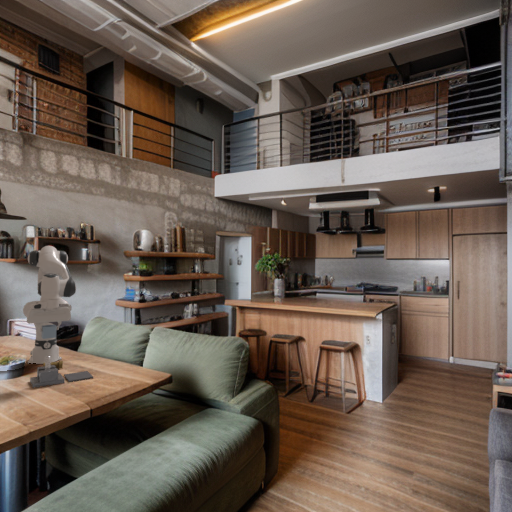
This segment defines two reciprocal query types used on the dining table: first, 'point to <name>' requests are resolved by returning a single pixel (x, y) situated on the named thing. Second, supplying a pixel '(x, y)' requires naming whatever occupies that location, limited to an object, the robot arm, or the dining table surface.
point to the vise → (47, 375)
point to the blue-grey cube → (49, 331)
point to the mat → (78, 376)
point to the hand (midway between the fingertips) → (49, 330)
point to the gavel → (56, 364)
